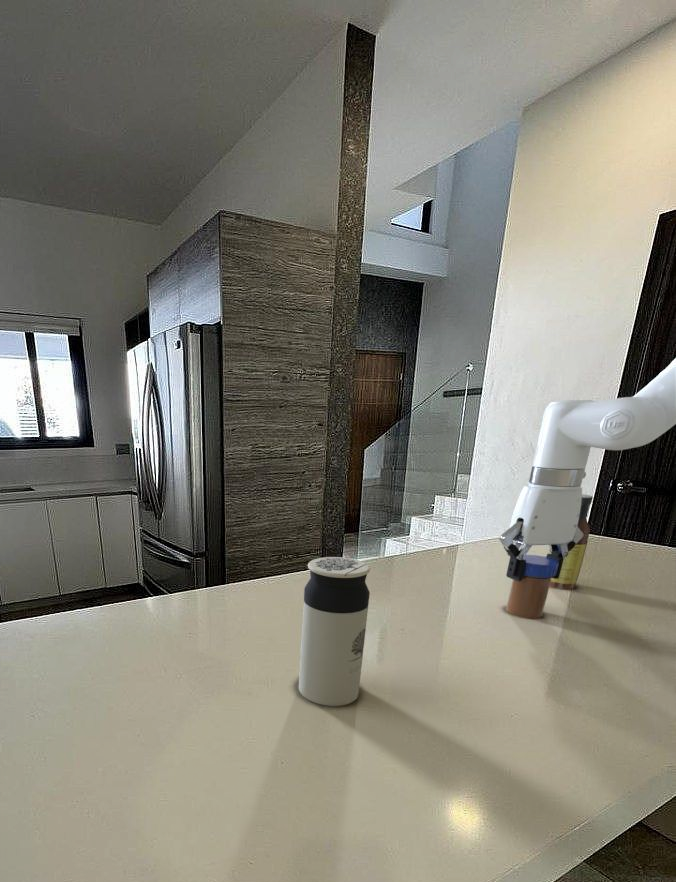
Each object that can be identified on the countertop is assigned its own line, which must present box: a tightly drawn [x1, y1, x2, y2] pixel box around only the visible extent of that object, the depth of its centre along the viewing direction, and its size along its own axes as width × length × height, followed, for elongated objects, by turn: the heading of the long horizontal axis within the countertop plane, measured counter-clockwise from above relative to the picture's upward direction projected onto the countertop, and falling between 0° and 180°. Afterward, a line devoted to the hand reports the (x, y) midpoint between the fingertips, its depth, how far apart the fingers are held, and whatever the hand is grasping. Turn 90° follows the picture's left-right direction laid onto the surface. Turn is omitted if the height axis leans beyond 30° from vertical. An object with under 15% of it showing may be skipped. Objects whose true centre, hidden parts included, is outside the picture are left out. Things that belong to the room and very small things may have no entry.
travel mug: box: [298, 556, 371, 707], centre depth 62 cm, size 8×8×18 cm
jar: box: [505, 575, 552, 619], centre depth 89 cm, size 6×6×10 cm
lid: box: [523, 554, 559, 578], centre depth 87 cm, size 7×7×2 cm
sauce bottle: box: [548, 493, 594, 590], centre depth 102 cm, size 7×6×20 cm
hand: (532, 577), depth 88 cm, fingers closed on lid, 6 cm apart
